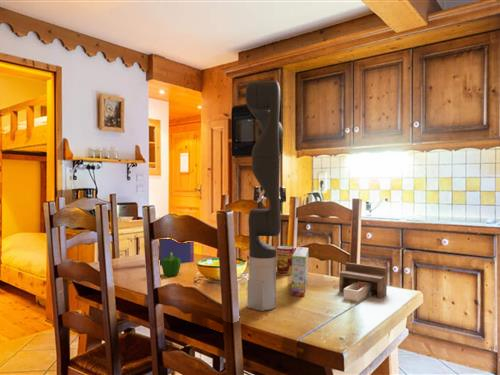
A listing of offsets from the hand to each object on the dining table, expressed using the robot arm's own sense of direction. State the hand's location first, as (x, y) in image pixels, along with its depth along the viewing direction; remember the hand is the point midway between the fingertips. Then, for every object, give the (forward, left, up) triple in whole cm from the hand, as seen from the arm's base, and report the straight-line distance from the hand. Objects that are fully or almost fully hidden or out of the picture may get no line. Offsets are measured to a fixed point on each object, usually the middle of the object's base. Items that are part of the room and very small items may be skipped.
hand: (269, 212), depth 155 cm
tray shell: (+9, -34, -30) cm, 46 cm away
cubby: (+14, -34, -30) cm, 47 cm away
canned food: (+24, +6, -30) cm, 39 cm away
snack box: (+5, -12, -30) cm, 33 cm away
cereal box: (+9, +63, -30) cm, 71 cm away
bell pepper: (-11, +45, -30) cm, 56 cm away
